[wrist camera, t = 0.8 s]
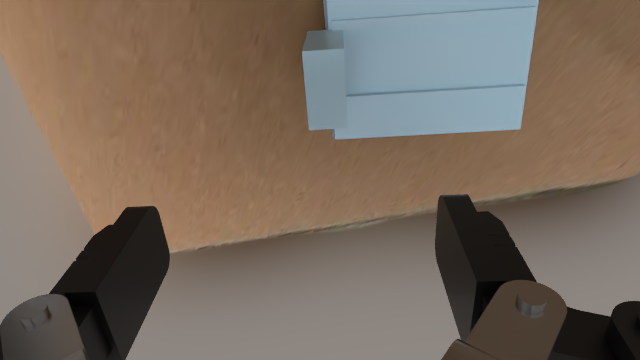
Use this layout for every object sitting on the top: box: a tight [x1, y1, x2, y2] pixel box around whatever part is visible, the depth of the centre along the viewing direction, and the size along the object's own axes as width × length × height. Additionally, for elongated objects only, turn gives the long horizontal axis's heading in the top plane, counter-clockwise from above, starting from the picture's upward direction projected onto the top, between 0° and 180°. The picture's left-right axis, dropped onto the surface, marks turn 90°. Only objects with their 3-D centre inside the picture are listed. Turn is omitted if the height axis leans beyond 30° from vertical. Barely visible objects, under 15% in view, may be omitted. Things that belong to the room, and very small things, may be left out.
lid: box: [302, 0, 539, 140], centre depth 25 cm, size 10×13×6 cm
